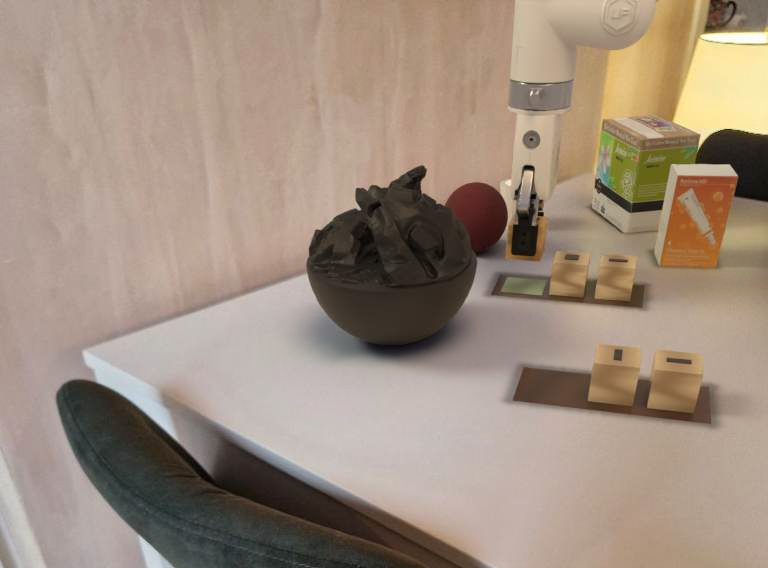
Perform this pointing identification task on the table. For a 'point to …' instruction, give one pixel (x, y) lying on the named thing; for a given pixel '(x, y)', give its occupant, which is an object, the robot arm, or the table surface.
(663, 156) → the tea box
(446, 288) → the coal bowl
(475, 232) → the decorative ball
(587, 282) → the board
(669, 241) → the small box
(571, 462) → the table surface
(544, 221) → the orange wooden cube
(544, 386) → the front word board
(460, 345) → the table surface
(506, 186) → the shot glass
